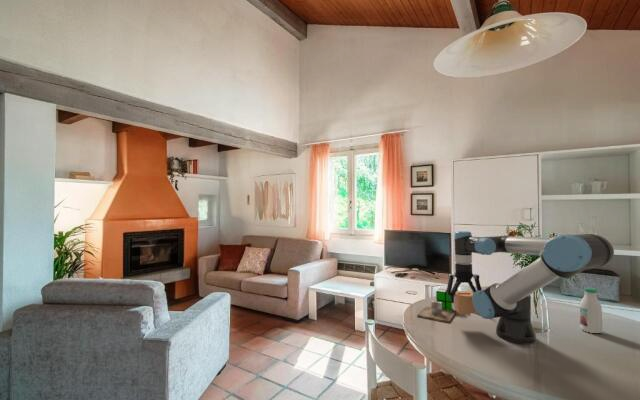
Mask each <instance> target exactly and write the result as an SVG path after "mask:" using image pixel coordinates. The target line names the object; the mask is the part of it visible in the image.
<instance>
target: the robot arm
mask: <svg viewBox="0 0 640 400" xmlns="http://www.w3.org/2000/svg"><path fill="white" fill-rule="evenodd" d="M473 253H474V254H477V255H483V256H491V255H492V254H495V253H497V254H498V253H506V254H510V253H511V254H520V255H531V256H539V257H538V258H537V259H536V260H534V261H533V262H531V263H530V264H528V265H526V266H525V267H524V268H522V269H520V270H519V271H518V272H516V273H515V274H513V275H512V276H510V277H509V278H507V279H506V280H504V281H502V282H500V283H498V282H496V283H493V284H491V285H490V286H488V287H486V288H485V289H483V290H482V286H481V282H480V275H479V274H477V273H475V274H474V273H473V264H472V263H473ZM614 256H615V250H614V247H613V245H612V243H611V242H610V241H609V240H608V239H607V238H605V237H603V236H601V235H599V234H594V233H584V234H583V233H582V234H560V235H558V236H554V237H539V236H538V237H537V236H511V235H498V236H495V235H494V236H473V235H472V232H471V231H468V230H458V231H457V230H456V231H455V232H454V261H455V263H454V271H455V272H454V273H453V274H451V273H449V274H448V282H447V287H446V288H447V291H446V293H447V294H448V295H450V301H451V303H452V309H453V310H456V297H455V296H454V295H455V293H456V291H457V290H458V289H459V287H460V285H461V284H462V283H467V284H468V286H469V288H470V289H471V292H472V293H473V296H472V303H473V307H474V309H475V311H476V312H477V313H478V315H477V316H479V315H480V317H481V318H483V319H485V320H486V319H487V320H492V319H494V318H499V319H498V322H497V324H496V327H495V333H496V334H495V335H497V336H498V337H500V338H501V339H503V340H505V341H509V342H513V343H517V344H523V345H524V344H525V345H527V344H534V343H536V342H537V335H536V332H535V329H534V327H533V324H532V315H531V314H532V311H531V310H532V308H531V306H532V305H531V303H532V302H531V300H532V296H531V295H532V294H534V293H535V292H537V291H539V290H540V289H543V288H545V287H547V285H549V284H551V283H553V282H554V281H556V280H558V279H560V278H561V279H565V280H566V279H570V278H572V277H573V276H576V275H578V274H579V273H581V272H583V271H586V270H591V269H599V268H602V267H605V266H607V265H609V264H610V263H611V262H612V260H613V259H614ZM454 279H456V280H455V281H454ZM472 279H473V280H474V283H475V285H474V283H473V281H472ZM453 283H454V284H453ZM451 289H452V290H451Z"/></svg>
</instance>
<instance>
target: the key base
mask: <svg viewBox="0 0 640 400" xmlns="http://www.w3.org/2000/svg"><path fill="white" fill-rule="evenodd" d="M430 303H431V306H425V307H423V308H422V310H421V311H419V312H418V313H417V315H416V316H417V317H418V318H421V317H422V319H426V318H427V320H431V321H438V322H441V323H448V324H450V323H451V321H452V320H453V318H454V317H455V315H456V313H457V311H449V310H443V309H442V302H437V301H435V300H432V301H431V302H430Z"/></svg>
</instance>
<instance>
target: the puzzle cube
mask: <svg viewBox="0 0 640 400" xmlns="http://www.w3.org/2000/svg"><path fill="white" fill-rule="evenodd" d="M451 290H452V289H451ZM446 291H447V287H443V286H442V287H439V288H438V289H437V290H436V293H435V294H436V301H437V302H442V309H443V310H449V311H454V312H457V311H456V310H453V309H452V303H451V301H450V295H448V294H447V293H446ZM457 291H459V290H458V289H457Z"/></svg>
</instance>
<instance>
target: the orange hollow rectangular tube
mask: <svg viewBox="0 0 640 400" xmlns="http://www.w3.org/2000/svg"><path fill="white" fill-rule="evenodd" d="M473 294H474V293H473V291H470V290H468V291H467V290H458V291H456V293H455V295H454V296H455V297H456V311H455V312H456V313H458V314H467V313H470V314H471V315H472V314H474V315H476V314H478V313H477V312H476V311H475V309H474V307H473V303H472V296H473Z"/></svg>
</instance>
